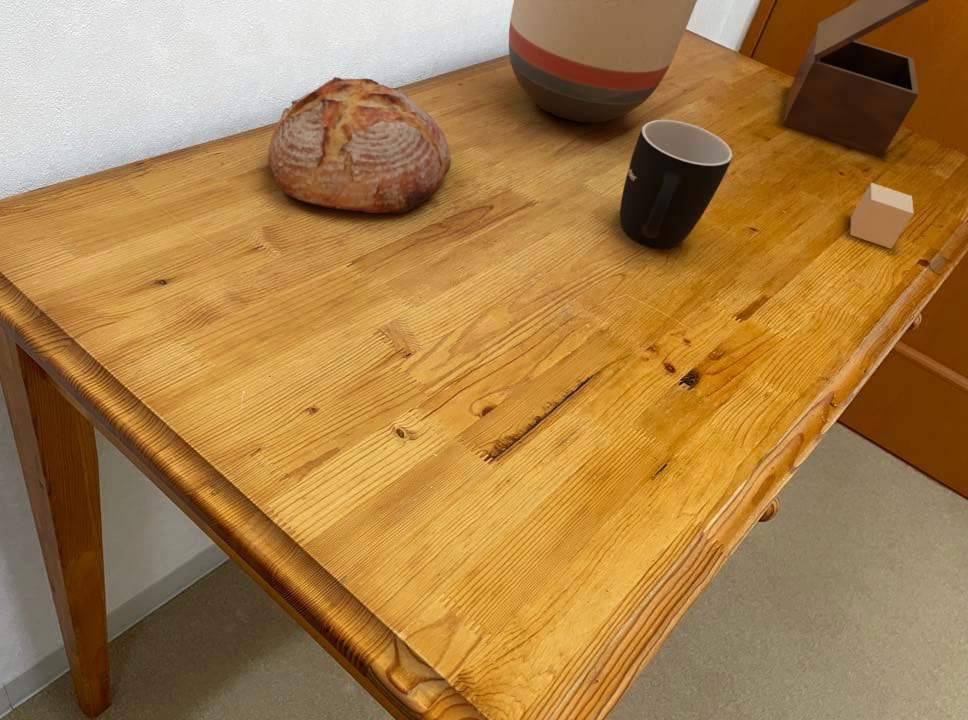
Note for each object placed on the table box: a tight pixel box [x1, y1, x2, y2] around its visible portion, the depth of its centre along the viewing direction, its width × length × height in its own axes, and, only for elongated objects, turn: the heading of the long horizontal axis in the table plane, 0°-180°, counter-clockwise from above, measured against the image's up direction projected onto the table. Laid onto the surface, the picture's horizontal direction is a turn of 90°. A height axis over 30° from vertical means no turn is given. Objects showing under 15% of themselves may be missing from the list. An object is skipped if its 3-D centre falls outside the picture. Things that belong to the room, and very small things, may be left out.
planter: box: [508, 0, 698, 123], centre depth 100 cm, size 20×20×21 cm
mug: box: [619, 119, 733, 250], centre depth 83 cm, size 12×9×10 cm
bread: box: [267, 76, 452, 215], centre depth 82 cm, size 16×20×10 cm
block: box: [849, 182, 915, 249], centre depth 95 cm, size 5×5×5 cm
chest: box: [782, 29, 920, 158], centre depth 118 cm, size 14×16×9 cm
